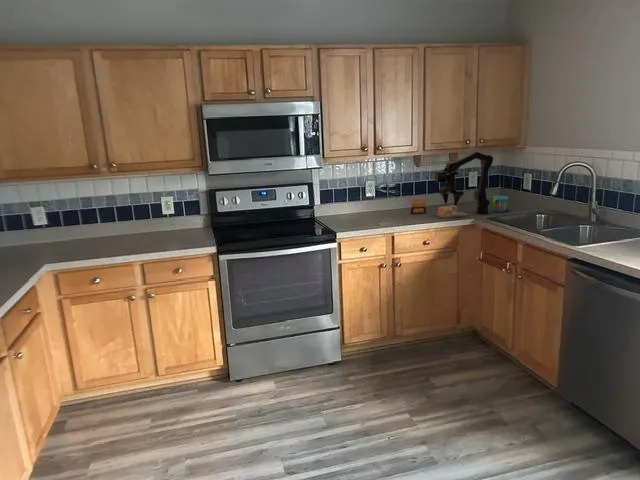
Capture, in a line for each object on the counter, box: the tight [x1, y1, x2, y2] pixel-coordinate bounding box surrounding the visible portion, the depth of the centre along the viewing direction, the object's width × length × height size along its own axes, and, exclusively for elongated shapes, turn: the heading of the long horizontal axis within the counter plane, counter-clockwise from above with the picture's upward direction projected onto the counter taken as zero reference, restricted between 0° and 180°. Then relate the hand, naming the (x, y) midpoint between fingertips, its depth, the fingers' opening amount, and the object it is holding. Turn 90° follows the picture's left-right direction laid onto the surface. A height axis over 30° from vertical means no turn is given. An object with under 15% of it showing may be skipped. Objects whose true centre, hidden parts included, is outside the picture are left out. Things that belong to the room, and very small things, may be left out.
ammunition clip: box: [410, 196, 427, 215], centre depth 355 cm, size 11×2×12 cm, turn 88°
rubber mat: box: [434, 211, 470, 219], centre depth 345 cm, size 20×11×1 cm, turn 101°
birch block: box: [437, 205, 459, 217], centre depth 343 cm, size 6×6×12 cm
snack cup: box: [491, 195, 509, 213], centre depth 352 cm, size 16×10×10 cm
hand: (450, 204), depth 343 cm, fingers open, 9 cm apart
